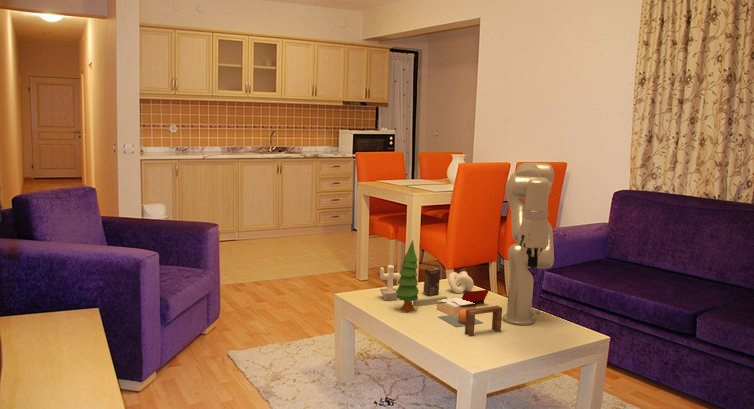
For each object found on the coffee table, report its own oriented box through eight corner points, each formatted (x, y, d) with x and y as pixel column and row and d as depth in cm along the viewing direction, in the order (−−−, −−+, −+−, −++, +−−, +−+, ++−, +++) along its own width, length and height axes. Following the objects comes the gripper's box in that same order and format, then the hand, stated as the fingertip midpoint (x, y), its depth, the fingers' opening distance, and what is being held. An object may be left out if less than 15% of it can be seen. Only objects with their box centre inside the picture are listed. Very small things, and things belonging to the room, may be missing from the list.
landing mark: (464, 313, 250) (464, 313, 250) (483, 323, 239) (483, 322, 239) (437, 317, 244) (437, 316, 244) (455, 327, 233) (455, 326, 233)
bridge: (464, 333, 226) (466, 309, 225) (496, 328, 233) (497, 305, 232) (469, 336, 224) (470, 312, 223) (500, 331, 230) (502, 307, 229)
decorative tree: (422, 310, 252) (425, 240, 248) (407, 315, 245) (410, 242, 241) (405, 305, 259) (408, 236, 255) (390, 309, 252) (392, 239, 248)
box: (429, 296, 273) (430, 270, 271) (423, 294, 276) (424, 268, 275) (439, 295, 276) (440, 269, 274) (433, 292, 280) (434, 267, 278)
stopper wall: (444, 301, 266) (444, 295, 266) (446, 302, 265) (447, 297, 264) (412, 305, 259) (413, 299, 259) (415, 306, 258) (415, 300, 257)
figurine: (402, 300, 265) (403, 267, 263) (381, 301, 263) (382, 268, 261) (397, 295, 272) (398, 263, 270) (377, 296, 270) (378, 264, 268)
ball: (473, 308, 238) (475, 322, 237) (465, 308, 243) (466, 322, 241) (462, 308, 235) (464, 323, 234) (454, 309, 240) (455, 323, 239)
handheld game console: (474, 299, 272) (475, 283, 271) (488, 306, 262) (489, 289, 261) (450, 301, 267) (451, 285, 266) (463, 309, 257) (464, 292, 256)
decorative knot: (457, 296, 275) (458, 277, 274) (440, 289, 285) (441, 271, 283) (476, 293, 281) (477, 274, 280) (459, 286, 291) (460, 268, 290)
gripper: (545, 212, 215) (541, 263, 218) (511, 214, 209) (508, 266, 211) (560, 215, 209) (556, 267, 211) (526, 217, 202) (522, 271, 205)
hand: (532, 266), depth 211 cm, fingers closed
